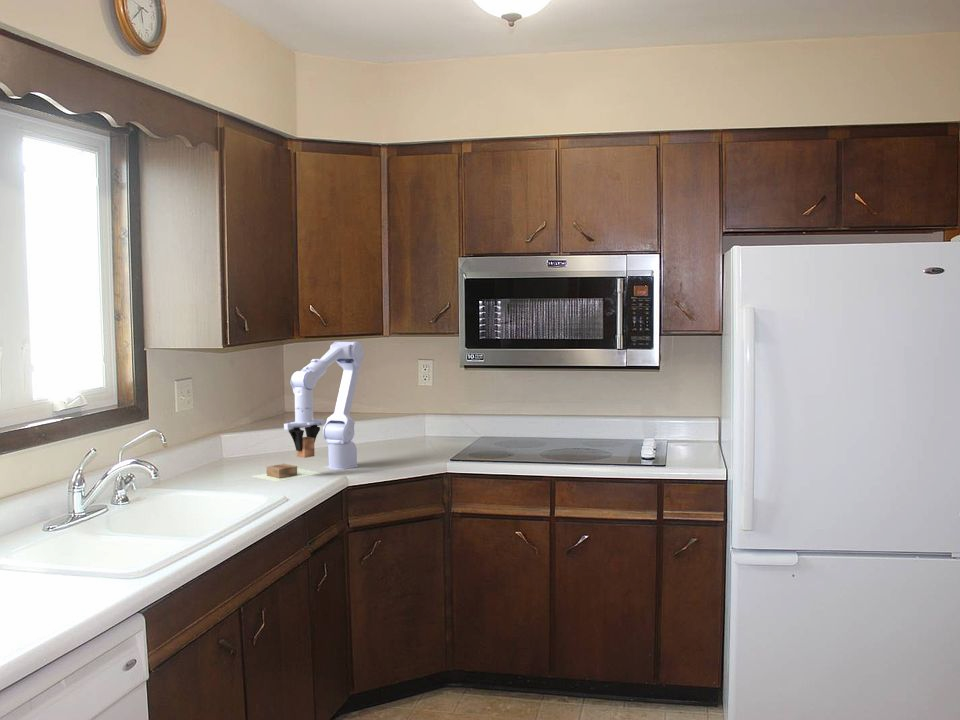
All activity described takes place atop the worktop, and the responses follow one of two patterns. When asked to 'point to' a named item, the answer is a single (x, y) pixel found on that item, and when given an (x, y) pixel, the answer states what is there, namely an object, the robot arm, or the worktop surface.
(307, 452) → the cherry block
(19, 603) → the worktop surface
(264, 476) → the plate
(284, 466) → the walnut slab
